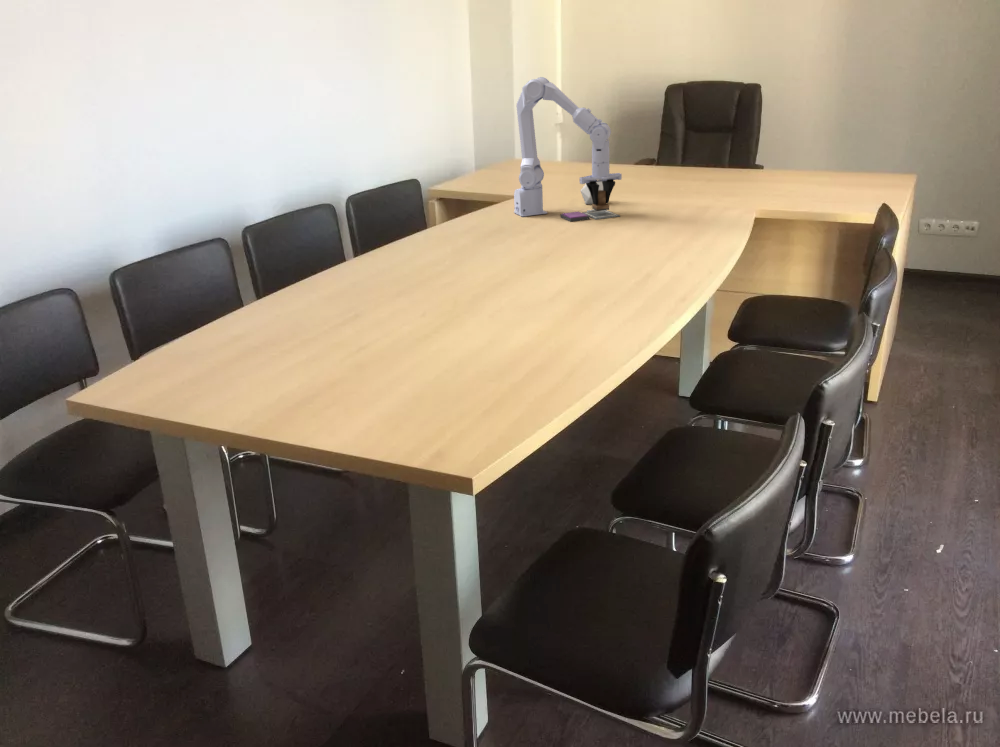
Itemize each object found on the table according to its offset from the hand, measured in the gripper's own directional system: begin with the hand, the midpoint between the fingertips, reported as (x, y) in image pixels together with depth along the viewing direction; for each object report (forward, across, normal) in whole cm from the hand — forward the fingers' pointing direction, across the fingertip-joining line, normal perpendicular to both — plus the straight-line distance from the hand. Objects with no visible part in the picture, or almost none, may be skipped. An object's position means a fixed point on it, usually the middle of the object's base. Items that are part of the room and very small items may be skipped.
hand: (600, 203), depth 281 cm
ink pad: (+4, -10, 0) cm, 10 cm away
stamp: (+2, 0, 0) cm, 2 cm away
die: (+4, +6, +18) cm, 20 cm away
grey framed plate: (+4, 0, 0) cm, 4 cm away
